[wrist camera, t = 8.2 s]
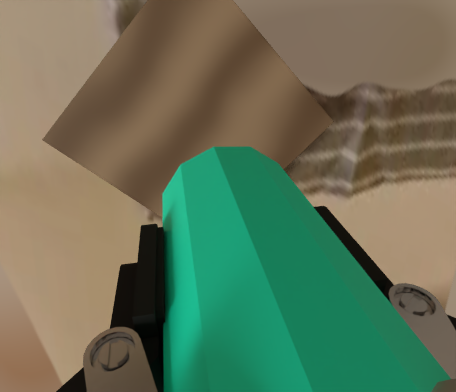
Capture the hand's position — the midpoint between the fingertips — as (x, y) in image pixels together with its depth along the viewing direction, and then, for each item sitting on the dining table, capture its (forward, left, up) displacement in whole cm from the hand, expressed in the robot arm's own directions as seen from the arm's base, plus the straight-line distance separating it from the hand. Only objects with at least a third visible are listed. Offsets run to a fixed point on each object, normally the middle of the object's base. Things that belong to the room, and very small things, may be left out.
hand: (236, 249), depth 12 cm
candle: (0, 0, -3) cm, 3 cm away
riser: (0, 0, -20) cm, 20 cm away
